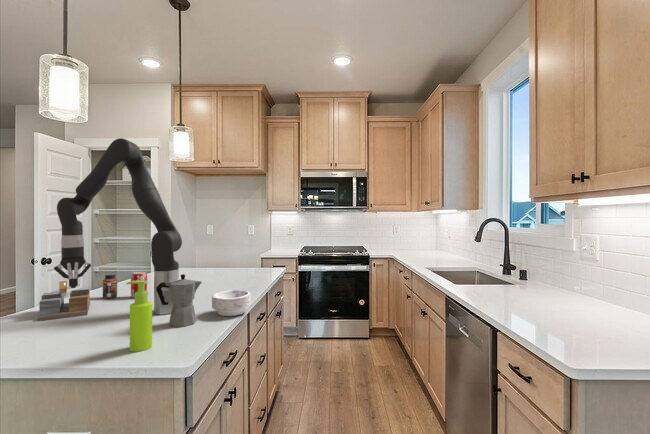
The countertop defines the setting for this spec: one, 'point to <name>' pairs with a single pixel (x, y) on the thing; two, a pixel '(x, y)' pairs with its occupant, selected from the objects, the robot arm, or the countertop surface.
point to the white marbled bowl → (231, 302)
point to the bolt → (60, 289)
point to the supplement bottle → (109, 286)
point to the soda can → (134, 287)
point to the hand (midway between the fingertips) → (73, 287)
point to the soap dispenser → (140, 319)
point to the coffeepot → (180, 301)
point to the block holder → (64, 305)
